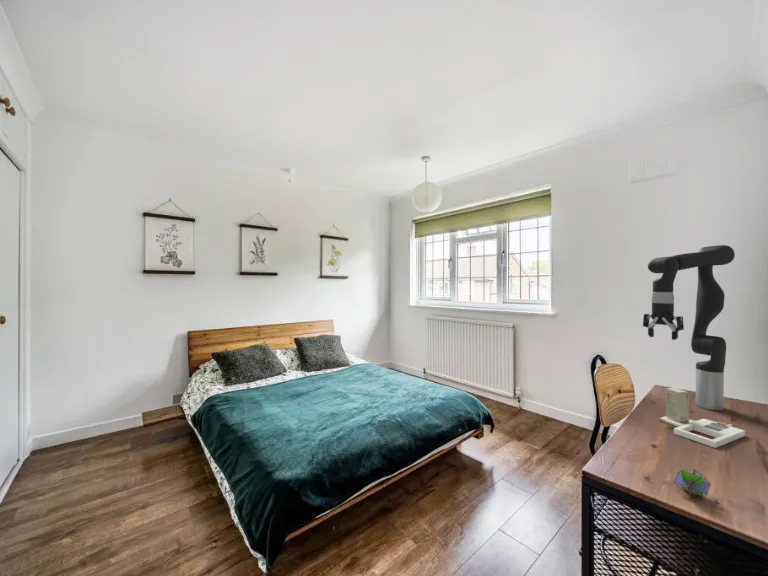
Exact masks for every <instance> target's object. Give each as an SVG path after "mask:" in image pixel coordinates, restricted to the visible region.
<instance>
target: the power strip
mask: <svg viewBox="0 0 768 576" xmlns="http://www.w3.org/2000/svg"><path fill="white" fill-rule="evenodd" d="M691 431H695V432H698V433H701V434H704V435H708V436H711V437H714V438H713V439H711V438H708V437H705V436H703V435H702V436H701V435H699V434H696V433H693V432H691ZM673 435H677V436H679V437H682V438H685V439H689V440H692V441H694V442H697V443H699V444H703V445H706V446H708V447H712V448H715V449H716V448H719V447H720V446H723V445H726V444H728V443H730V442H734V441H736V440H738V439H740V438H743V437H745V436H746V430H745V429H744V430H743V429H741V428H738V427H733V424H732V423H729V424H727V423H724V422H721V421H713V420H711V419H707V418H701V419H698V420H696V421H694V422H691V423H688V424H685V425H682V426H679V427H677V426H675V427H674V428H673Z"/></svg>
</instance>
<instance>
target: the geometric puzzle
mask: <svg viewBox="0 0 768 576" xmlns="http://www.w3.org/2000/svg"><path fill="white" fill-rule="evenodd" d="M690 470H693V472H692V473H691V472H688V471H689V469H686V470H683V469H680V471H677V474H676V476H675V479H674V481H673V483H674V484H676V485H677V487H680V486H681V489H682V488H683V489H686V490H685V491H687V490H688V491H687V492H688V496H689V497H690V499H692V498H693V496H692V494H695V493H696V494H695V495H697V494H698V495H697V496H696V498H700V495H702V496H703V497H706V496H708V494H709V491H710V487H711V484H712V483H710V481H709V479H708V478H707V477H706V475H705V474H703V473H702V472H700V471H698V470H697V469H695V468H693V469H690ZM683 489H682V490H683ZM692 492H693V493H692ZM691 496H692V497H691ZM702 496H701V497H702ZM689 497H688V498H689Z"/></svg>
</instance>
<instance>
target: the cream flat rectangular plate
mask: <svg viewBox="0 0 768 576" xmlns="http://www.w3.org/2000/svg"><path fill="white" fill-rule="evenodd" d="M658 421H660V422H662V423H666V424H668V425H671V426H674V427H679V426H682V425H685V424H688V423H691V422H694V421H697V420H695V419H692V418H689V422H678V421H676V420H674V419H671V418H669V417H667V415H665V416H661V417H659V418H658Z"/></svg>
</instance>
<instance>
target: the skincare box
mask: <svg viewBox="0 0 768 576" xmlns="http://www.w3.org/2000/svg"><path fill="white" fill-rule="evenodd" d="M665 396H666V397H665V401H666V403H665V405H666V406H665V407H666V408H665V410H666V411H665V412H666V413H665V414H666V416H667V417H669V418H671V419H674V420H676V421H678V422H689V419H690V410H689V409H690V404H689V402H690V400H689V399H690V398H689V392H688V391H685V390H683V389H680V388H676V387H665Z"/></svg>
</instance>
